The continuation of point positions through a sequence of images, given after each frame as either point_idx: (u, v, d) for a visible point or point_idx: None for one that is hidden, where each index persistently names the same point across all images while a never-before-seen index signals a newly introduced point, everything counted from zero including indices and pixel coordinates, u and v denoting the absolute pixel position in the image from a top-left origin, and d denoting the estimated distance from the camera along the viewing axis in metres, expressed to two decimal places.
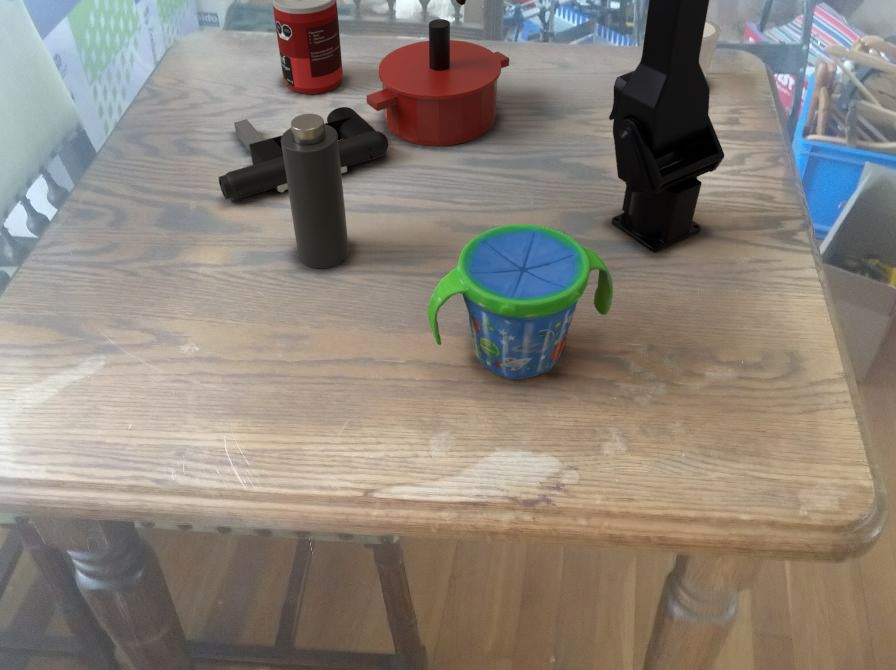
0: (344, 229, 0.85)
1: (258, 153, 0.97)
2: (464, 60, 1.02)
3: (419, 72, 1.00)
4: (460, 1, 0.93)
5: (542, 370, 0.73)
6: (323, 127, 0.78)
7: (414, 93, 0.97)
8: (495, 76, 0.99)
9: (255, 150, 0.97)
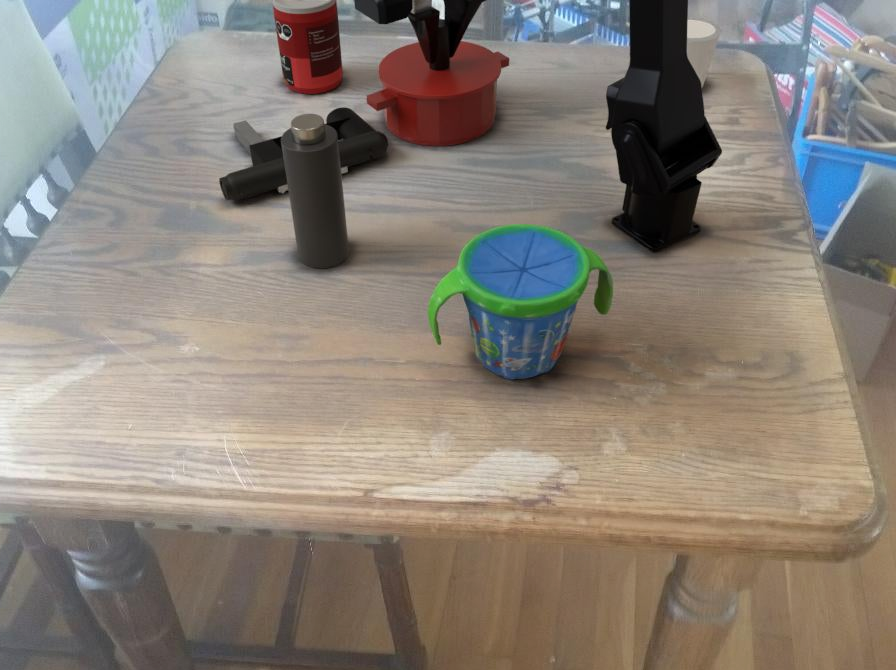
0: (344, 229, 0.85)
1: (258, 154, 0.97)
2: (464, 60, 1.02)
3: (419, 72, 1.00)
4: (428, 60, 1.00)
5: (542, 370, 0.73)
6: (323, 127, 0.78)
7: (414, 93, 0.97)
8: (495, 76, 0.99)
9: (255, 151, 0.97)
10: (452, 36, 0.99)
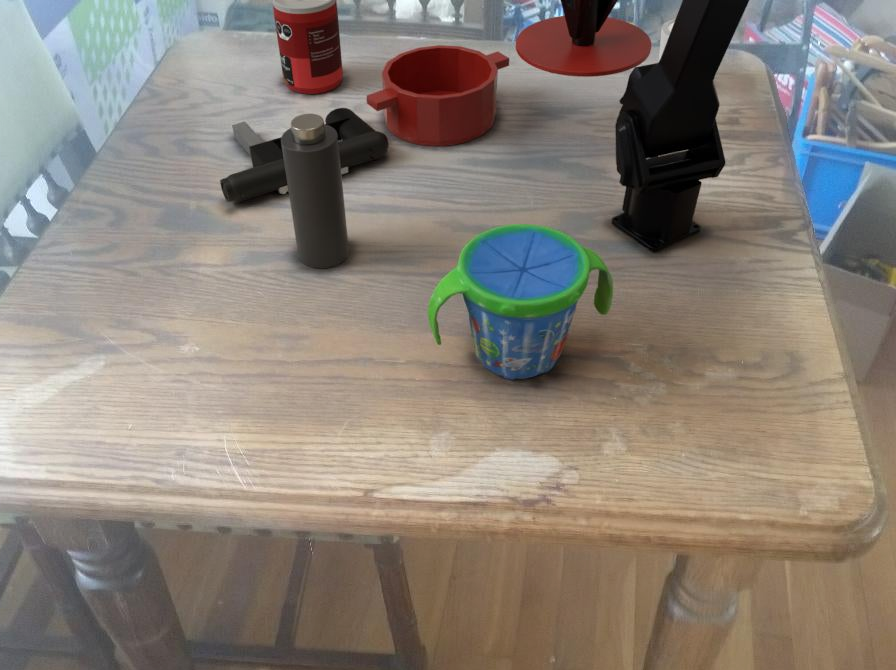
0: (344, 229, 0.85)
1: (259, 155, 0.96)
2: (608, 35, 0.94)
3: (562, 48, 0.92)
4: (573, 35, 0.92)
5: (542, 370, 0.73)
6: (323, 127, 0.78)
7: (562, 70, 0.89)
8: (647, 51, 0.91)
9: (256, 152, 0.97)
10: (601, 9, 0.91)
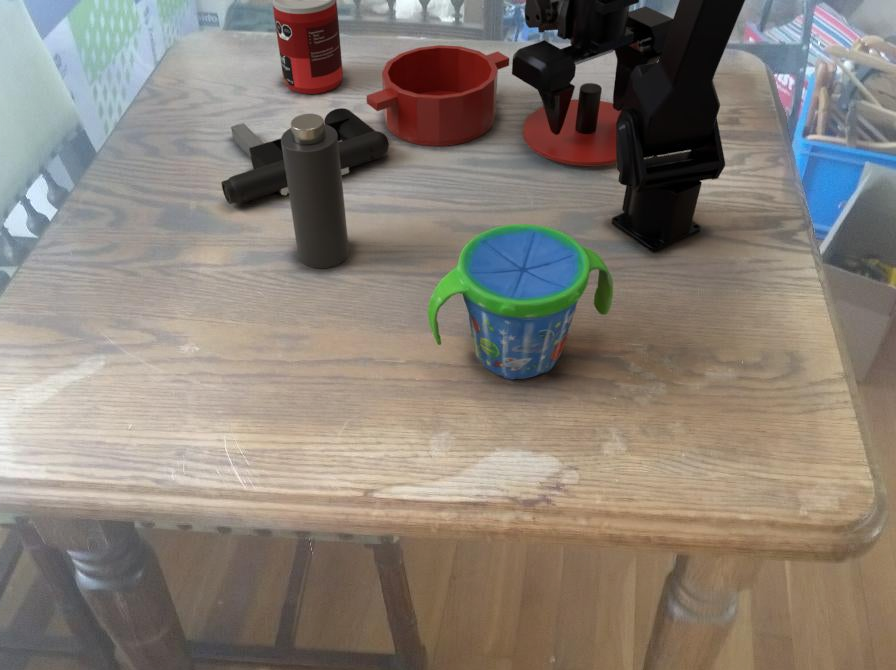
0: (344, 229, 0.85)
1: (259, 156, 0.96)
2: (609, 122, 1.01)
3: (566, 135, 0.99)
4: (554, 131, 0.97)
5: (542, 370, 0.73)
6: (323, 127, 0.78)
7: (566, 159, 0.96)
8: None
9: (256, 154, 0.97)
10: (624, 90, 0.99)
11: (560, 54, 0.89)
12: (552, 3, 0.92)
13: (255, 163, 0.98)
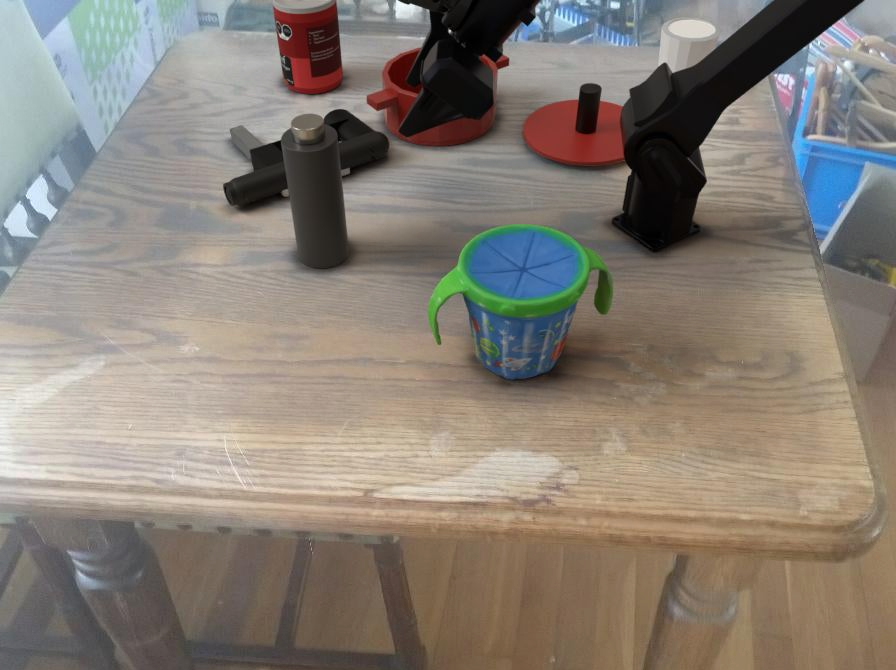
0: (344, 229, 0.85)
1: (260, 158, 0.96)
2: (609, 122, 1.01)
3: (566, 135, 0.99)
4: (407, 134, 0.79)
5: (542, 370, 0.73)
6: (323, 127, 0.78)
7: (566, 159, 0.96)
8: None
9: (257, 155, 0.96)
10: None
11: (486, 69, 0.72)
12: None
13: (256, 165, 0.98)
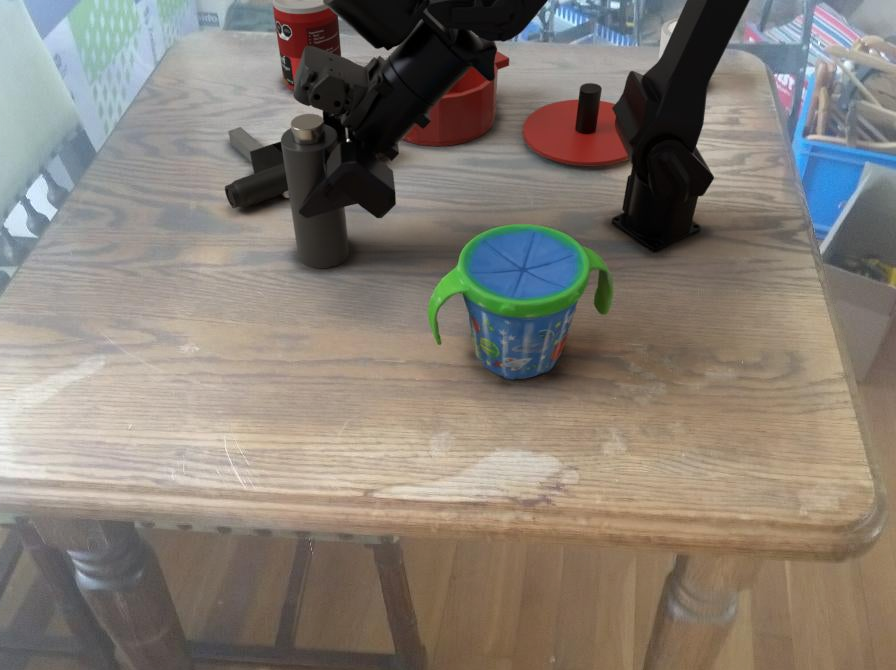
0: (344, 229, 0.85)
1: (261, 160, 0.96)
2: (609, 122, 1.01)
3: (566, 135, 0.99)
4: (307, 215, 0.81)
5: (542, 370, 0.73)
6: (323, 127, 0.78)
7: (566, 159, 0.96)
8: None
9: (257, 157, 0.96)
10: None
11: (387, 170, 0.75)
12: (353, 89, 0.73)
13: (256, 167, 0.97)
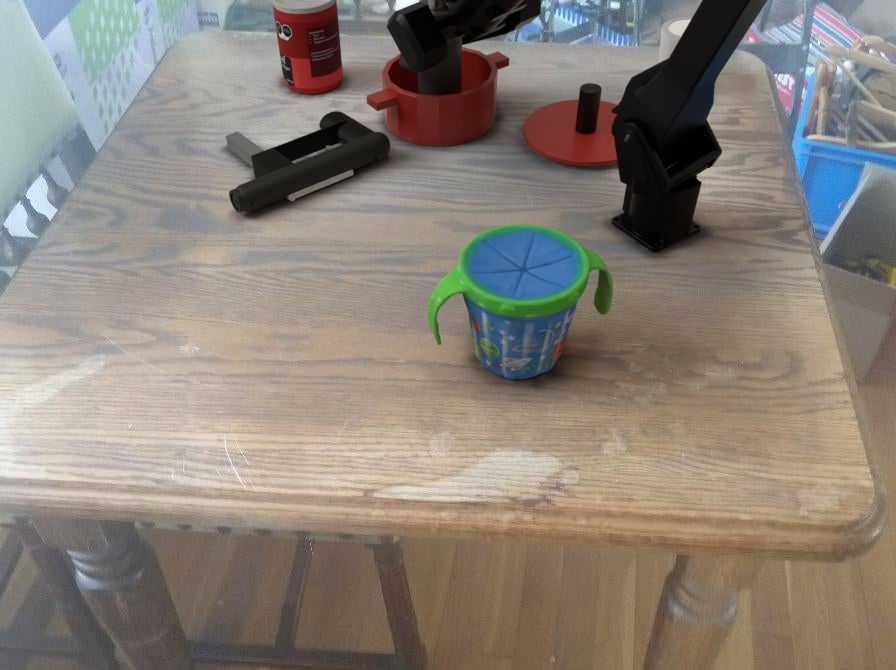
0: None
1: (263, 164, 0.95)
2: (609, 122, 1.01)
3: (566, 135, 0.99)
4: (402, 67, 0.99)
5: (542, 370, 0.73)
6: None
7: (566, 159, 0.96)
8: None
9: (259, 161, 0.96)
10: None
11: (439, 39, 0.90)
12: None
13: (258, 171, 0.97)
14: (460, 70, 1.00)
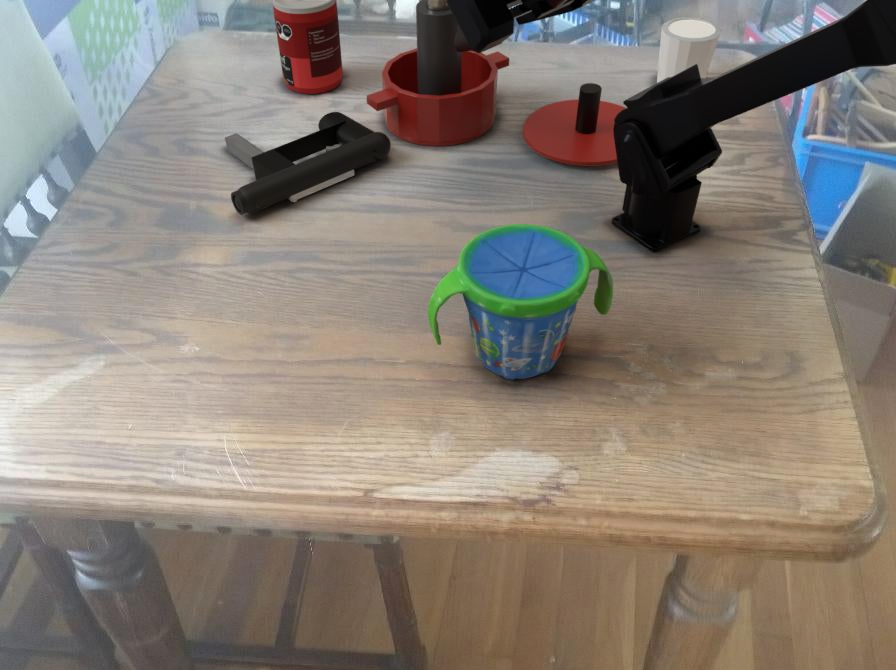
0: None
1: (265, 165, 0.95)
2: (609, 122, 1.01)
3: (566, 135, 0.99)
4: (457, 48, 0.90)
5: (542, 370, 0.73)
6: (445, 0, 0.94)
7: (566, 159, 0.96)
8: None
9: (260, 162, 0.95)
10: (533, 14, 0.92)
11: (504, 15, 0.81)
12: None
13: (259, 172, 0.97)
14: (460, 70, 1.00)
